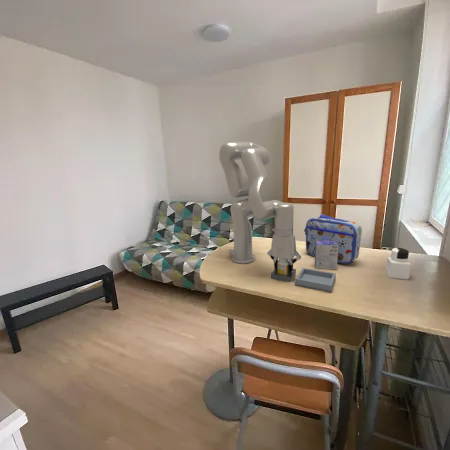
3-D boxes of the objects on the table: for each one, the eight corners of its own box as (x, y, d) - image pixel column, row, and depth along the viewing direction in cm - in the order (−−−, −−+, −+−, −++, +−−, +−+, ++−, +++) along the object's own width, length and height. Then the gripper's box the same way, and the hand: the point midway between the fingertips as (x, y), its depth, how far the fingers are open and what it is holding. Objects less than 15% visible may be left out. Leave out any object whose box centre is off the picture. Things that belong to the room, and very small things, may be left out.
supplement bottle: (279, 279, 115) (279, 259, 112) (275, 274, 120) (275, 254, 117) (291, 278, 115) (291, 258, 112) (287, 273, 120) (287, 253, 118)
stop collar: (270, 278, 116) (270, 273, 115) (276, 270, 123) (276, 265, 123) (290, 282, 111) (290, 277, 111) (295, 274, 119) (296, 269, 118)
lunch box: (300, 254, 142) (301, 214, 136) (310, 249, 148) (312, 211, 143) (352, 268, 122) (356, 223, 116) (361, 261, 129) (365, 218, 123)
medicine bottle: (404, 272, 116) (407, 247, 113) (409, 279, 109) (413, 253, 106) (385, 270, 118) (388, 245, 115) (389, 278, 112) (392, 251, 108)
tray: (295, 285, 109) (295, 278, 108) (302, 273, 119) (302, 267, 118) (331, 292, 102) (331, 285, 101) (335, 279, 112) (335, 273, 111)
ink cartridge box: (335, 264, 127) (337, 236, 123) (337, 269, 122) (339, 240, 118) (313, 264, 129) (315, 236, 125) (315, 268, 124) (316, 239, 120)
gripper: (261, 232, 113) (262, 270, 118) (302, 236, 105) (300, 277, 109) (268, 227, 119) (268, 264, 124) (306, 231, 111) (304, 270, 116)
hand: (283, 270), depth 117 cm, fingers closed on supplement bottle, 5 cm apart
